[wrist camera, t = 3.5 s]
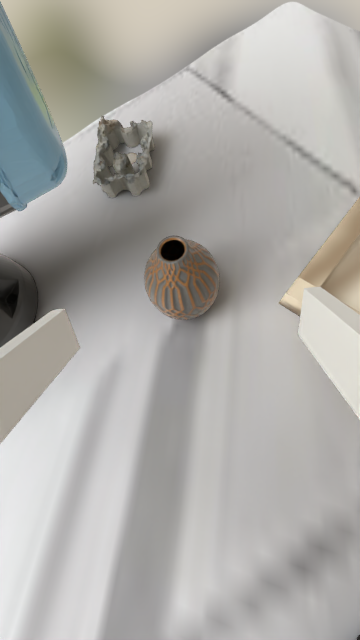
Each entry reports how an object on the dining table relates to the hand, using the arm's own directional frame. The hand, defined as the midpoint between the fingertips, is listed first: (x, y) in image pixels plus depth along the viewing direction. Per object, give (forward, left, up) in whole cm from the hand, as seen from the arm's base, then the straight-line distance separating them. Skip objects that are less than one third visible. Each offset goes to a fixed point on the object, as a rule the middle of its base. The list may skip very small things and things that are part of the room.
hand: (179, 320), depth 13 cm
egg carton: (-23, +14, -11) cm, 30 cm away
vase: (-4, +4, -11) cm, 12 cm away
